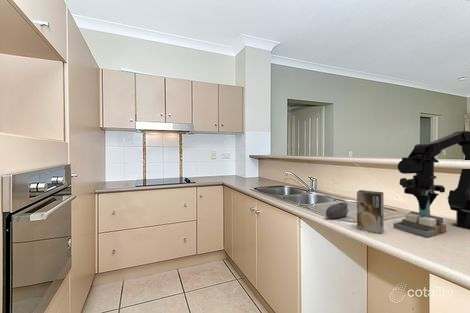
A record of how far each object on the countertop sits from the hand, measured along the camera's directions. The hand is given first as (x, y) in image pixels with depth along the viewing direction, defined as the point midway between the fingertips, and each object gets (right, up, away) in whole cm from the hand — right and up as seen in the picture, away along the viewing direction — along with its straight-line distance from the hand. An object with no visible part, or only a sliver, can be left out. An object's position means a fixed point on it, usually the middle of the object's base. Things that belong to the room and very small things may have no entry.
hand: (424, 209), depth 93 cm
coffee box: (-23, -9, 0) cm, 25 cm away
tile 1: (-4, -5, +1) cm, 6 cm away
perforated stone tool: (-30, -8, +17) cm, 35 cm away
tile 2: (-2, -5, -3) cm, 6 cm away
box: (-7, -8, -3) cm, 11 cm away
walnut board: (-1, -8, 0) cm, 8 cm away
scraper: (+1, -5, 0) cm, 5 cm away
